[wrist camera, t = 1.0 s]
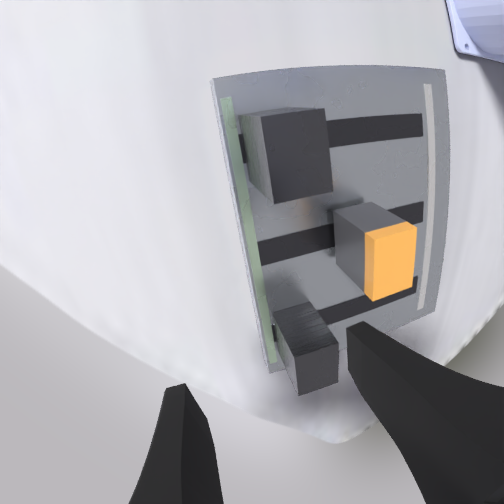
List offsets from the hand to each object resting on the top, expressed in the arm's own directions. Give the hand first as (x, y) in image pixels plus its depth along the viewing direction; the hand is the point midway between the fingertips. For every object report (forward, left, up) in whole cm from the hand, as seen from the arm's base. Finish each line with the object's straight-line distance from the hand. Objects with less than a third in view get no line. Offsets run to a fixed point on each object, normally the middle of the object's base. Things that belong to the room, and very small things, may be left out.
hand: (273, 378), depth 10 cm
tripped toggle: (-7, 0, -8) cm, 10 cm away
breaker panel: (-8, 0, -9) cm, 12 cm away
